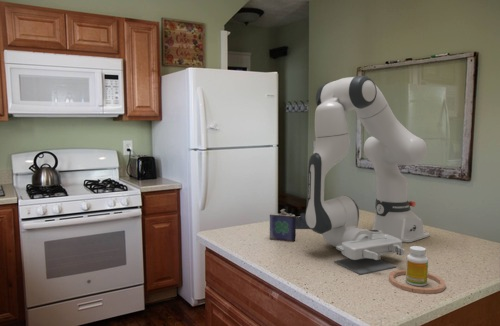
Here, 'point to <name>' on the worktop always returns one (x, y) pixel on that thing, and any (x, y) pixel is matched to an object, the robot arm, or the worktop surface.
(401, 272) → the segmented terracotta ring
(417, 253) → the supplement bottle
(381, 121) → the robot arm
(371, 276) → the worktop surface
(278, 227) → the flask
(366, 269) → the mat
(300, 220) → the dark slate chunk
